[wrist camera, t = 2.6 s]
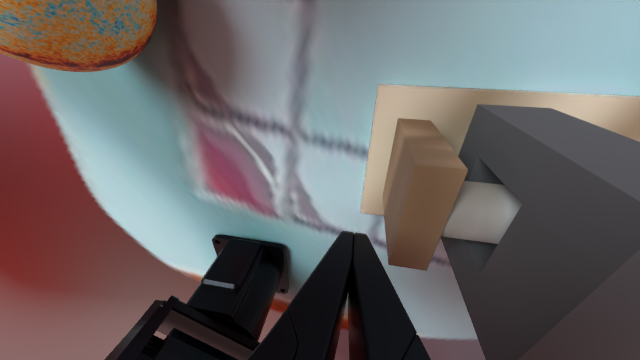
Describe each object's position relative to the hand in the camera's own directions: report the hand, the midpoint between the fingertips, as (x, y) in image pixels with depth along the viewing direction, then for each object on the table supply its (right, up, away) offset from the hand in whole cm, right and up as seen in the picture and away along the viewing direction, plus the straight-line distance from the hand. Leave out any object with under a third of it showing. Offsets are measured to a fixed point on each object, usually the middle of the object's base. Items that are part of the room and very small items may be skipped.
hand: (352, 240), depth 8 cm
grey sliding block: (+7, +2, +4) cm, 9 cm away
